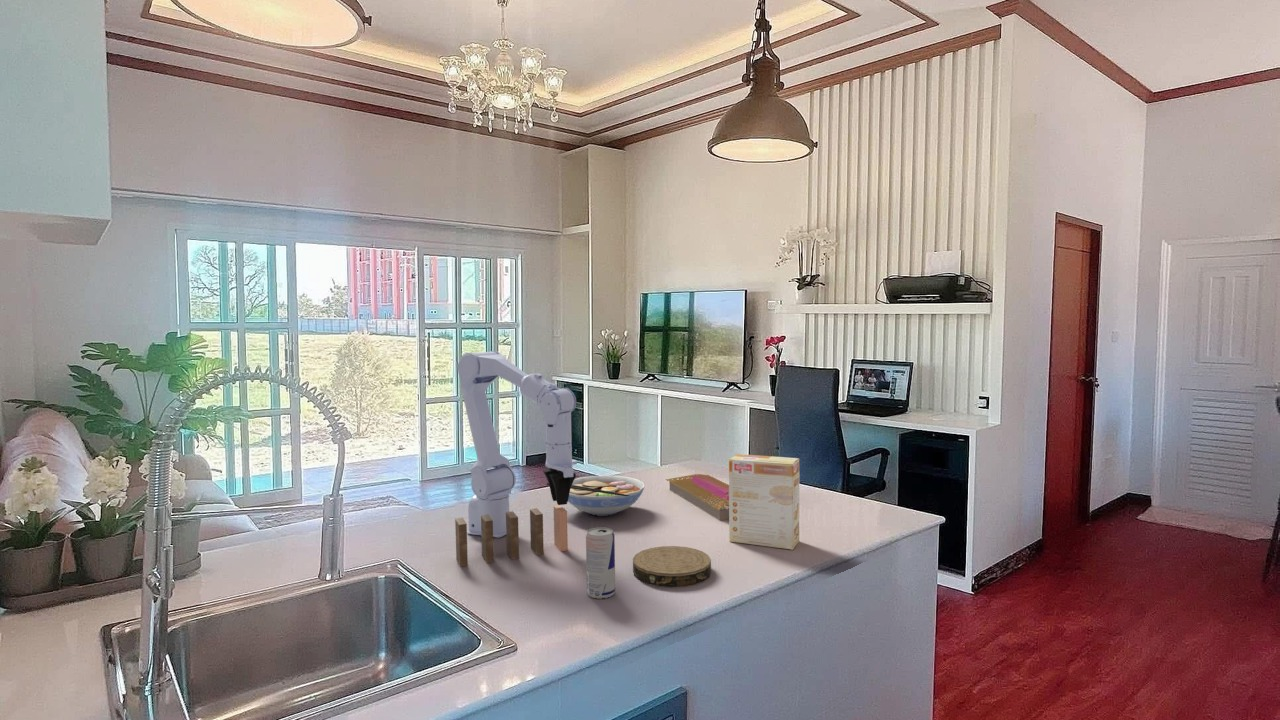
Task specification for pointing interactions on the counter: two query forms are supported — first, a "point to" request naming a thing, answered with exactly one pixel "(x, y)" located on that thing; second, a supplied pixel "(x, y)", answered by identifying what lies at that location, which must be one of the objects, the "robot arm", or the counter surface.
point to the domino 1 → (461, 542)
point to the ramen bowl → (604, 494)
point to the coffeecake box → (764, 500)
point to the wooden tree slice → (672, 566)
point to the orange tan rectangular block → (560, 528)
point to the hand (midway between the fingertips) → (559, 502)
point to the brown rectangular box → (703, 493)
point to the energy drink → (600, 562)
